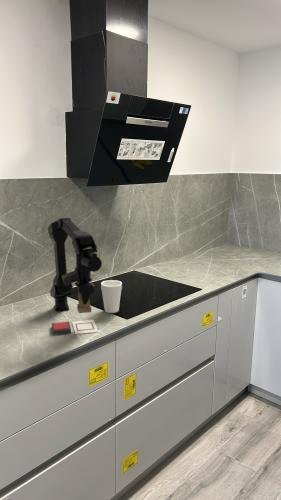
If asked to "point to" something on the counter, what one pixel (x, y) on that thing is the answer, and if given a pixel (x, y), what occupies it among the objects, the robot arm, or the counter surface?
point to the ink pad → (61, 328)
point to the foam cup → (111, 295)
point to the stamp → (81, 306)
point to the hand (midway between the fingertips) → (84, 302)
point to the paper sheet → (84, 327)
